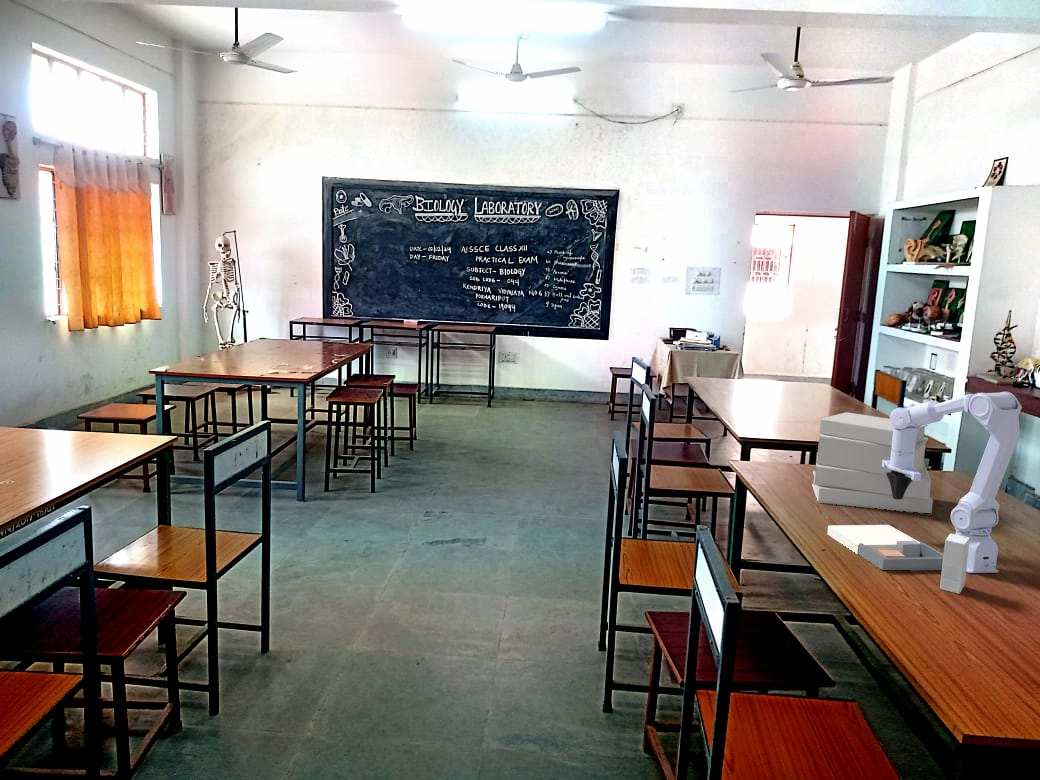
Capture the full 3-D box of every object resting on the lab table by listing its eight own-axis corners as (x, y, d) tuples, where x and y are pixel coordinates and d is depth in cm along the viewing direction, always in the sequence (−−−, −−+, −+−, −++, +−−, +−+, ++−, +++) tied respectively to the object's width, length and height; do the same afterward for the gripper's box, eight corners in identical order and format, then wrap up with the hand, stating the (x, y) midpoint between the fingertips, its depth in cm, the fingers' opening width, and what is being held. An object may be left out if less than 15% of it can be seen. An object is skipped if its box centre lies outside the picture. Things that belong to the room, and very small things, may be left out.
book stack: (939, 519, 224) (949, 435, 220) (814, 506, 233) (822, 425, 229) (916, 492, 252) (925, 417, 248) (806, 481, 262) (812, 409, 258)
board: (922, 553, 195) (923, 544, 195) (857, 554, 193) (858, 545, 193) (887, 533, 210) (888, 524, 209) (827, 534, 208) (828, 525, 207)
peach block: (896, 550, 191) (895, 559, 191) (877, 549, 190) (876, 559, 191) (905, 556, 187) (904, 565, 187) (886, 555, 186) (884, 565, 187)
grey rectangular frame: (949, 569, 184) (950, 558, 184) (882, 571, 182) (883, 559, 182) (921, 553, 195) (922, 542, 194) (857, 554, 193) (859, 543, 192)
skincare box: (944, 581, 177) (950, 532, 175) (964, 586, 175) (970, 537, 173) (938, 589, 173) (944, 539, 171) (959, 594, 170) (966, 544, 168)
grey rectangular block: (912, 555, 194) (919, 559, 191) (895, 555, 193) (901, 559, 191) (914, 540, 193) (921, 544, 191) (896, 541, 192) (903, 544, 190)
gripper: (933, 457, 198) (927, 506, 201) (900, 444, 213) (895, 490, 215) (908, 457, 198) (903, 506, 200) (877, 444, 212) (872, 491, 214)
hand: (897, 498), depth 207 cm, fingers closed
